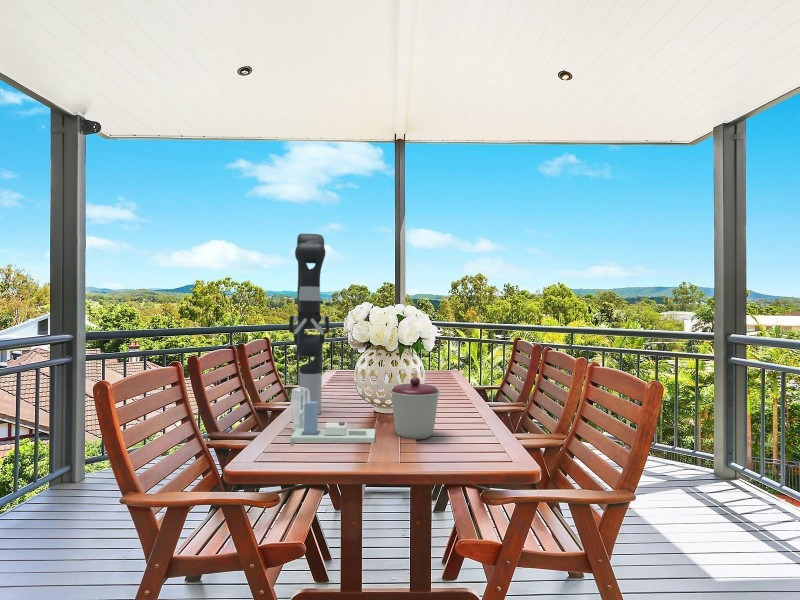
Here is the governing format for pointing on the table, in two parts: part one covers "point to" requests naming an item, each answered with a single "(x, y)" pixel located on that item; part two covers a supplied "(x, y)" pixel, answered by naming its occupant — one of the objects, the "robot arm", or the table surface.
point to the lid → (335, 428)
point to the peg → (310, 417)
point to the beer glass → (299, 405)
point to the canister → (414, 409)
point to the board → (335, 436)
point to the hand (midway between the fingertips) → (309, 344)
